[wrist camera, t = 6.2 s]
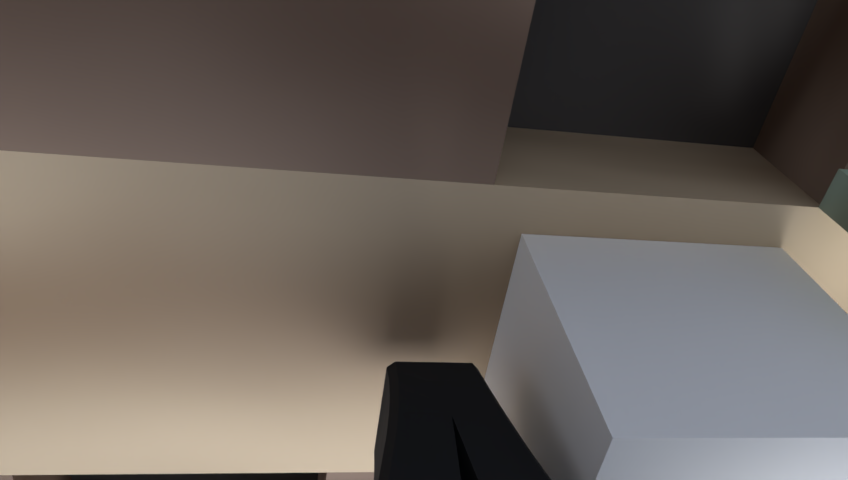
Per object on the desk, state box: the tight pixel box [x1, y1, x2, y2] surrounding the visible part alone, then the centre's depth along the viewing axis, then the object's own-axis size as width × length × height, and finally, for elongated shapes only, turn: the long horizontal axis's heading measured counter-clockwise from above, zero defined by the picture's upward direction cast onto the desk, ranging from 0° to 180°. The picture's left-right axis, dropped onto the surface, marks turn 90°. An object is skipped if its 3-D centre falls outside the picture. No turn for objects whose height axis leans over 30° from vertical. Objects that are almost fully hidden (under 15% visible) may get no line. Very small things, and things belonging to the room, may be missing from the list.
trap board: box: [0, 0, 848, 480], centre depth 11 cm, size 14×24×5 cm, turn 82°
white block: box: [484, 234, 848, 480], centre depth 11 cm, size 4×4×4 cm
